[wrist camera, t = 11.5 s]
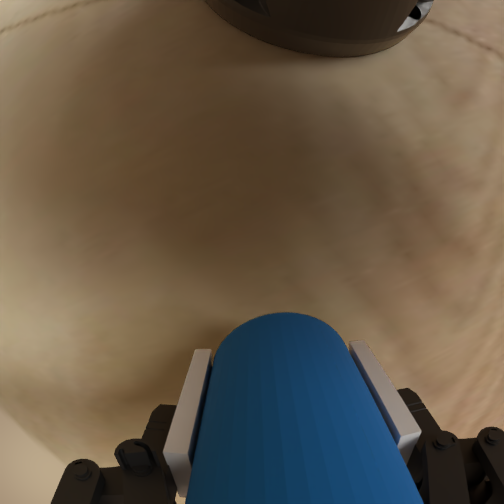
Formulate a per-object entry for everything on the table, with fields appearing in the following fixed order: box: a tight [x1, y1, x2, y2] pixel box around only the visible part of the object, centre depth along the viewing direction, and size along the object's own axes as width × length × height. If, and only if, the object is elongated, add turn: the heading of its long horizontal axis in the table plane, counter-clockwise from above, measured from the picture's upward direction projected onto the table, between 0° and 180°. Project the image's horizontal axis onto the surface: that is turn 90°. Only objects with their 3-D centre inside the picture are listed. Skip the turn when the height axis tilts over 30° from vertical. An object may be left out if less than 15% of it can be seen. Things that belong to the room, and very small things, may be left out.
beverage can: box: [185, 312, 424, 504], centre depth 9 cm, size 6×6×12 cm
